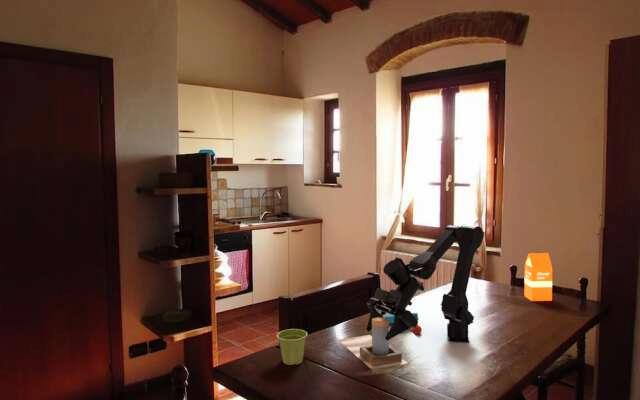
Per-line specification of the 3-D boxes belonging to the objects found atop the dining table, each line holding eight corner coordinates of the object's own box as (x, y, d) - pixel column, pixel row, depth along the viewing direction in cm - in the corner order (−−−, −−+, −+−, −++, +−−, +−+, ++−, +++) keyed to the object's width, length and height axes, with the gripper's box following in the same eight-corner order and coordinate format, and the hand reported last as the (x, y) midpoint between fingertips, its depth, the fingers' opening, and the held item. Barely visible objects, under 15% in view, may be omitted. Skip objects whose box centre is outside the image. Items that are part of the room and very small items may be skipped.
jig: (337, 342, 163) (337, 332, 163) (369, 337, 168) (369, 327, 167) (372, 373, 139) (372, 361, 139) (408, 366, 143) (408, 355, 143)
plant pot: (296, 370, 142) (295, 341, 142) (271, 363, 147) (270, 336, 147) (313, 359, 150) (313, 332, 149) (289, 353, 155) (288, 327, 154)
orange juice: (552, 300, 207) (552, 254, 206) (531, 301, 207) (532, 255, 206) (543, 295, 215) (544, 251, 214) (524, 296, 215) (524, 251, 214)
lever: (382, 335, 183) (413, 336, 167) (379, 317, 184) (409, 316, 168) (396, 332, 186) (428, 332, 171) (393, 313, 187) (424, 312, 172)
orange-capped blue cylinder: (381, 353, 151) (381, 316, 150) (392, 359, 146) (391, 320, 146) (369, 357, 148) (368, 319, 147) (379, 362, 144) (378, 323, 143)
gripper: (371, 272, 155) (343, 312, 151) (410, 284, 140) (381, 329, 135) (390, 292, 160) (364, 331, 155) (430, 306, 144) (402, 350, 139)
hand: (376, 335), depth 146 cm, fingers open, 9 cm apart
